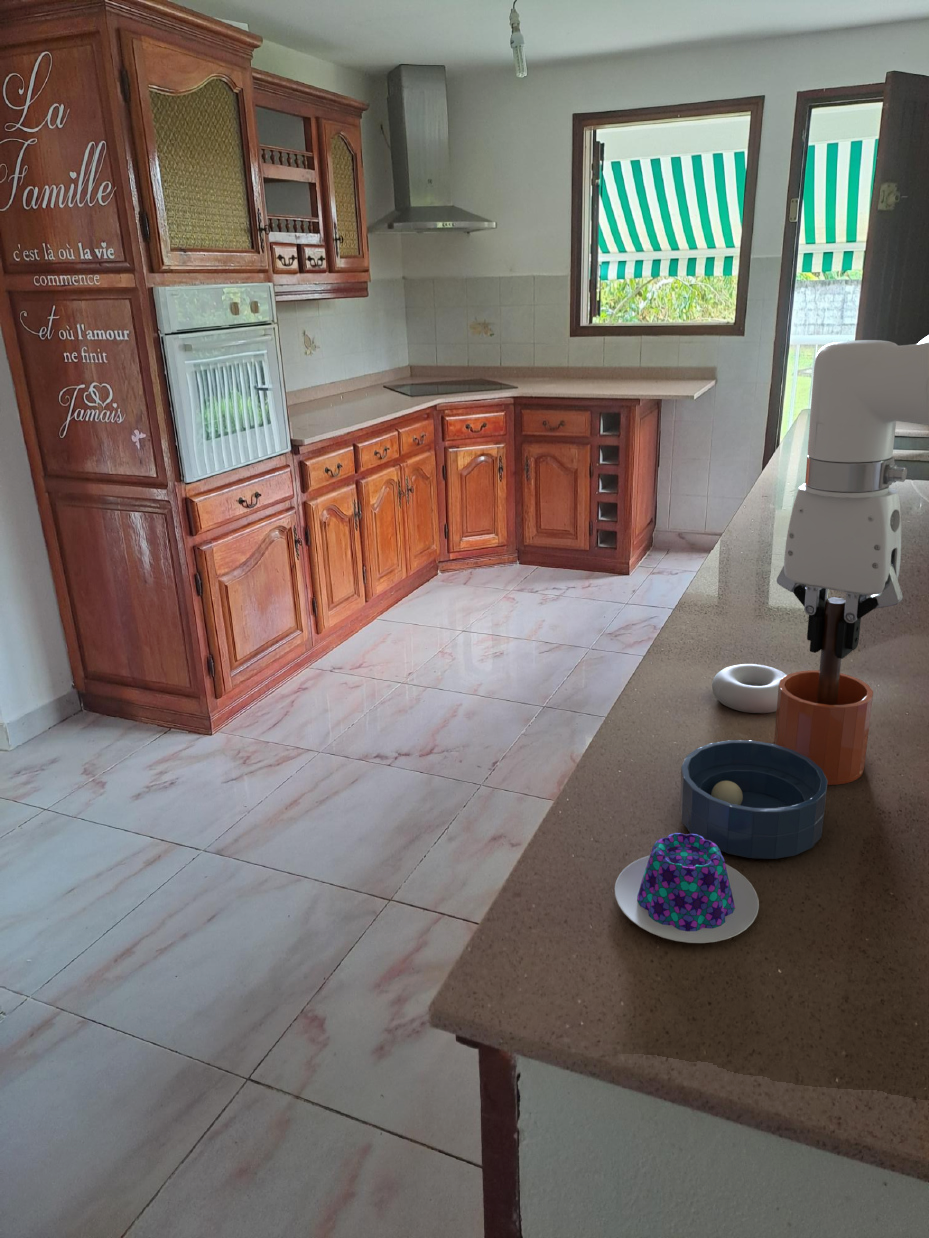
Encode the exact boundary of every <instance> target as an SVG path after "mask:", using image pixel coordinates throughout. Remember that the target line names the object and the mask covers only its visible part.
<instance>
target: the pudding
mask: <svg viewBox="0 0 929 1238" xmlns="http://www.w3.org/2000/svg"><path fill="white" fill-rule="evenodd" d="M614 897H615V899H616V902H617V906H618V907H619V908H620V910H621V912H622V913H623V914H624V915H625V916H626V917H627V918H628V919H629V920H630V921H631V922H632V923H634V924H635V925H637V926H638V927H639V928H641V929H643V930H645V931H646V932H649V933H650V934H653V935H654V936H655V935H656V936H658V937H661V938H663V939H667V940H670V941H675V942H682V943H687V944H706V943H715V942H716V943H717V942H720V941H725V940H728V939H731V938H733V937H735V936H738V935H739V934H741V933H743V932H744V931H746V930H747V929H748V928H749V927H750V926H751V925H752V924H753V923H754V921H755V920H756V918H757V916H758V913H759V909H760V903H759V896H758V894H757V891H756V889H755V887H754V886H753V884H752V883H751V882H750V881H749V879H748V878H746V876H745V875H743V874H742V873H740V872H739V871H738V870H737V869H736V868H734V867H732V866H730V865H729V864H727V863H726V861H725V858H724V856H723V855H722V851H720V849H719V848H718V846H717V845H716V844H715V843H713V842H712V841H709V840H705V839H704V838H703V837H702V836H700V835H697V834H691V833H688V834H687V833H686V834H685V833H682V832H674V833H671V834H669V835H667V837H661V838H659V839H658V840H656V841H655V843H654V844H653V846H652V848H651V850H650V854H649V855H647V856H644V857H641V858H638V859H636V860H634V861H633V862H631V863H630V864H628V865H626V867H624V868H623V869H622V871H621V872H620V873H619V875H618V876H617V879H616V881H615V884H614Z"/></svg>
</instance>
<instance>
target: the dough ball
mask: <svg viewBox="0 0 929 1238" xmlns="http://www.w3.org/2000/svg"><path fill="white" fill-rule="evenodd" d="M711 796H712V797H714V798H717V799H720V800H723V801H725V802H728V803H731V804H735V805H741V803H742V800H743V794H742V791H741V789H740V787H739V786H738V785H737V784H735V783H734V782H731V781H721V782H719V783H717V784H716V785H715V786H714V787H713V789H712V792H711Z"/></svg>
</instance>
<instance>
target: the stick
mask: <svg viewBox="0 0 929 1238" xmlns="http://www.w3.org/2000/svg"><path fill="white" fill-rule="evenodd" d="M845 601H846V598H842V597H827V599H826V600H825V612H824V623H823V635H822V646H821V650H820V658H819V659H820V660H819V669H818V670H819V680H818V692H817V703H819V704H826V705H837V698H838V688H839V678H840V673H841V665H842V659H840V658H837V656H835V650H836V639H837V628H838V623H839V621H841V620H842V619H843V614H844V612H845Z"/></svg>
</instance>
